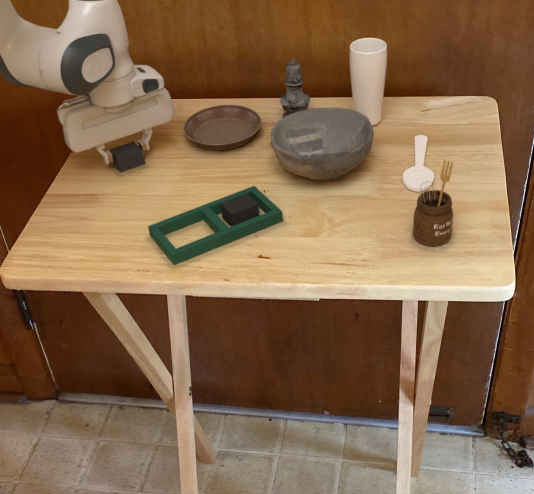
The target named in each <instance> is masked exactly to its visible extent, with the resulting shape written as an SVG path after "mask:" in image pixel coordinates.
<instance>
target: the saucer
mask: <svg viewBox="0 0 534 494" xmlns="http://www.w3.org/2000/svg"><path fill="white" fill-rule="evenodd" d="M261 126H262V118H261V115H260V114H259V113H258V112H256V111H255V110H253V109H252V108H250V107H247V106H243V105H239V104H237V105H236V104H221V105H219V104H218V105H214V106H210V107H206V108H203V109H201V110H198V111H196V112H195V113H193V114H192V115H190V116H189V117H188V118H187V119H186V120H185V122H184V123H183V133H184V135H185V136H186V137H187V138H188V139H189V140H190V141H191V142H193V143H194V144H196V145H197V146H199V147H202V148H204V149H207V150H212V151H227V150H232V149H236V148H239V147H241V146H243V145H245V144H246V143H248V142H249V141H250V140H251V139H252V138H254V136H256V134H257V133H258V131H260V128H261Z"/></svg>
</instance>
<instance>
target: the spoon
mask: <svg viewBox="0 0 534 494" xmlns="http://www.w3.org/2000/svg"><path fill="white" fill-rule="evenodd" d="M428 140H429V138H428V136H427V135H424V134H418V135H415V136H414V165H413V166H410V167H409V168H407V169H405V171H403V174H402V183H403V185H404V186H405V187H406V188H407V189H408V190H410V191H412V192H415V193H416V192H417V193H420V188H421V185H422V190H421V192H425V191H427V190H429V189H430V187H432V186H433V185H434V184H433V183H435V173H434V171H433V170H431V169H430V168H428V167H426V166H424V165H425V159H426V154H427V147H428V142H429V141H428ZM426 180H427V182H428V181H429V183H430V184H429V183H427V182H426ZM431 181H432V183H431ZM424 183H425V184H424ZM426 183H427V188H426V186H425V185H426ZM428 185H429V187H428ZM424 187H425V188H424Z"/></svg>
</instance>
